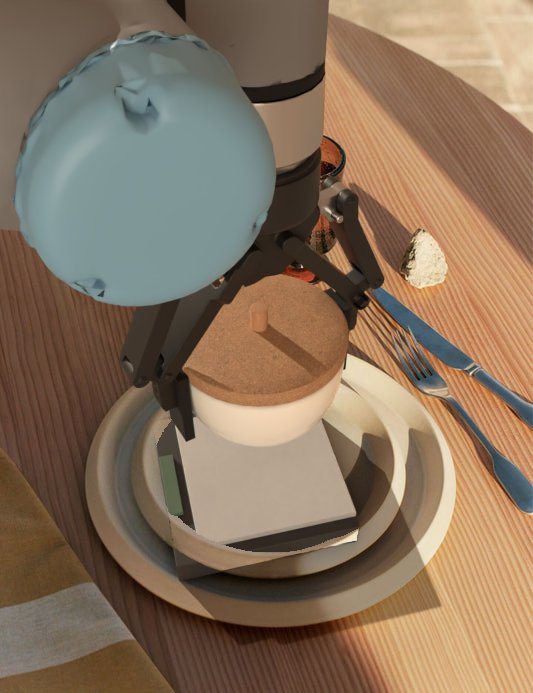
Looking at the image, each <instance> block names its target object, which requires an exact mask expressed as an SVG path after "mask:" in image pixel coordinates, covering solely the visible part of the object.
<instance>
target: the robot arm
mask: <svg viewBox="0 0 533 693" xmlns="http://www.w3.org/2000/svg"><path fill="white" fill-rule="evenodd" d="M329 10H330V0H0V230H2V231H3V230H4V231H12V232H20V234H21V235H22V237H23V239H24V241H25V242H26V243H27V245H28V246H29V247H30V248H33V249H35V250H36V252H37V254H38V256H39V258H40V259H41V261H42V262H43V264H44V265H45V266H46V267H47V269H48V270H49V271H50V272H51V273H52V274H53V275H54V276H55V278H58V280H61V281H62V282H64V283H65V284H66V285H68V286H69V287H70V288H72V289H74V290H76V291H78V292H80V293H81V294H84V295H86V296H89V297H92V298H93V299H94V300H95V301H97V302H100V303H104V304H108V305H113V306H121V307H135V310H134V313H133V316H132V319H131V322H130V324H129V328H128V331H127V333H126V336H125V338H124V341H123V346H122V348H121V352H120V354H119V357H118V363H119V364H120V366H121V368H122V369H123V371H124V373H125V374H126V376H127V377H128V379H129V380H130V382H131V384H132V385H133V387H134V388H135V389H142V388H145V387H147V385H149V383H151V386H152V387H151V388H152V393H153V396H154V398H155V400H156V401H157V402H158V404H159V405H160V407H161V409H162V410H163V411H164V412H169V418H171V419H172V421H173V422H174V424H175V425H176V427H177V429H178V430H179V432H180V433H181V435H182V436H183V438H184V439H185V441H186V442H188V441H190V440H192V439H194V438H195V430H194V422H193V411H192V405H191V397H190V389H189V381H188V377H187V376H186V374H185V373H184V371H183V370H182V367H183V366H184V364H185V363H186V361H187V360H188V358H189V357H190V355H191V354H192V352H193V351H194V349H195V348H196V346H197V344H198V343H199V341H200V340H201V338H202V337H203V335H204V334H205V332H206V331H207V329H208V328H209V326H210V324H211V323H212V321H213V320H214V318H215V317H216V315H217V314H218V312H219V311H220V309H221V308H222V306H223V305H225V304H226V305H228V304H230V303H231V302H232V301H233V300H234V298H235V297H236V295H237V293H238V292H239V290H240V289H241V287H242V286H244V287H247V286H250V285H253V284H255V283H257V282H258V281H260V280H262V279H263V278H265V277H268V276H275V275H278V274H284V273H286V272H287V268H288V267H289V266H290V265H292V264H293V262H294V261H295V262H296V263H298V264H299V265H300V266H301V267H303V268H304V269H305V270H307V271H308V272H309V273H312V274H313V275H314V276H315V277H317V278H318V279H319V280H320V281H322V282H323V283H324V284H326V285H327V286H328V287H329V288H327V289H324V290H323V291H324V292H325V293H326V294H328V295H329V296H330V297H331V298H332V299H333V300H334V301H335V302H336V303H337V305H338V306H339V307H340V309H341V310H342V312H343V314H344V316H345V318H346V320H347V325H348V329H349V332H351V331H353V330H355V328H356V326H357V324H358V323H357V321H358V313H359V311H363V310H365V309H367V308H368V306H369V305H370V303H371V298H370V297H369V296H368V295H367V294H366V291H368V290H369V289H370V288H371V289H372V290H378V289H379V288H381V287H382V286H383V285H384V283H385V276H384V273H383V271H382V269H381V266H380V265H379V262H378V260H377V257H376V255H375V253H374V251H373V249H372V247H371V244H370V242H369V240H368V238H367V236H366V233H365V231H364V229H363V227H362V224H361V222H360V220H359V202H360V201H359V195H357V194H356V193H355V192H354V191H353V190H351V189H350V188H349V187H348V186H347V185H346V184H344V182H342V181H341V180H339V179H338V178H337V177H336V176H333V175H332V176H329V177H326V179H325V180H324V181H323V182H322V185H321V173H322V156H323V154H322V148H321V144H322V141H323V138H324V130H325V129H324V128H325V103H326V102H325V99H326V98H325V97H326V59H327V58H326V57H327V43H328V41H327V40H328V24H329V23H328V22H329ZM321 216H322V217H323V218H324V219H325V220H326V221H327V222H328V224H329V226H330V228H331V230H332V232H333V234H334V236H335V238H336V240H337V242H338V244H339V246H340V247H341V250H342V251H343V253H344V256H345V257H346V260H347V261H348V264H349V265H350V267H351V270H350V271H349V272H347V273H344V272H343V271H342V270H341V269H339V268H338V267H337V266H336V265H335V264H334V263H332V262H331V261H330V260H329V259H328V258H326V257H325V256H324V255H323V254H321V253H320V252H319V251H318V250H317V249H315V247H313V246H312V245H311V244H310V243H309V242H308V241H307V240H309V237H310V236H311V234H312V232H313V231H314V229H315V228H316V227H317V225H318V222H319V221H320V218H321ZM221 277H222V278H224V279H223V281H222V282H220V279H221ZM348 350H349V348H348V349H347V351H348ZM347 358H348V352H347V353H346V357H345V361H344V368H343V371H345V370H346V369H347Z"/></svg>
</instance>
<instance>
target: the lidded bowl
mask: <svg viewBox="0 0 533 693" xmlns="http://www.w3.org/2000/svg"><path fill="white" fill-rule="evenodd" d="M224 278H225V277H222V278H219V280H220V282H222V281H223V279H224ZM349 342H350V331H349V329H348V325H347V320H346V318H345V316H344V314H343V312H342V310H341V309H340V307H339V306H338V305H337V303H336V302H335V301H334V300H333V299H332V298H331V297H330V296H329V295H328V294H326V293H325V292H324V290H322V289H321V288H320V287H318V286H317V285H314V284H312V283H311V282H308V281H305V280H303V279H301V278H298V277H295V276H291V275H287V274H283V273H281V274H278V275H275V276H268V277H265V278H263V279H262V280H260V281H258V282H257V283H255V284H253V285H250V286H247V287H244V286H242V287H241V289H240V290H239V292H238V293H237V295H236V297H235V298H234V300H233V301H232V302H231V303H230V304H228V305H226V304H225V305H223V306H222V308H221V309H220V311H219V312H218V314H217V315H216V317H215V318H214V320H213V321H212V323H211V324H210V326H209V328H208V329H207V331H206V332H205V334H204V335H203V337H202V338H201V340H200V341H199V343H198V344H197V346H196V348H195V349H194V351H193V352H192V354H191V355H190V357H189V358H188V360H187V361H186V363H185V364H184V366H183V367H182V370H183V371H184V373H185V374H186V376H187V377H188V381H189V389H190V397H191V405H192V414H193V413H194V414H195V415H196V417H197V418H198V419H199V420H200V421H201V422H202V423H203V424H204V425H205V426H206V427H207V428H208V429H209V430H211V431H212V432H213V433H215V434H216V435H218V436H220V437H222V438H224V439H226V440H228V441H230V442H233V443H236V444H239V445H244V446H249V447H271V446H276V445H281V444H284V443H287V442H290V441H292V440H294V439H296V438H298V437H300V436H302V435H304V434H305V433H306V432H308V431H309V430H311V429H312V428H313V427H314V426H315V425H316V424H317V423H318V422H319V421H320V420H323V418H324V417H325V415H326V414H327V412H328V411H329V410H330V408H331V406H332V404H333V403H334V401H335V398H336V396H337V394H338V391H339V388H340V384H341V381H342V377H343V372H344V370H343V368H344V361H345V357H346V353H347V354H348V350H349ZM347 349H348V350H347Z"/></svg>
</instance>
